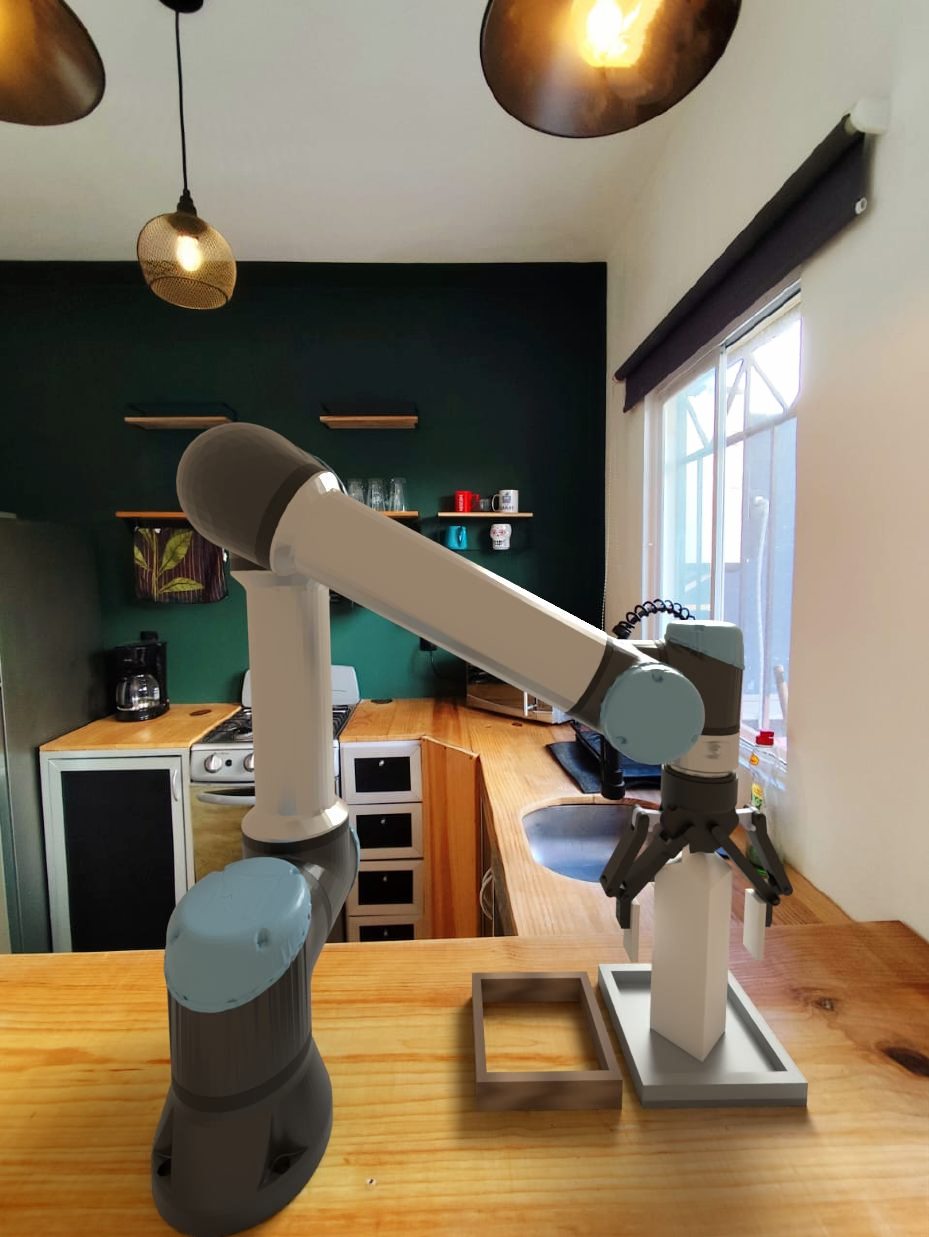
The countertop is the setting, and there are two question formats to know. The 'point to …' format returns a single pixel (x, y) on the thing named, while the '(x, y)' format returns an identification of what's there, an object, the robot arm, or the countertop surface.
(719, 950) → the milk
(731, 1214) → the countertop surface
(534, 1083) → the frame
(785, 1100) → the tray
